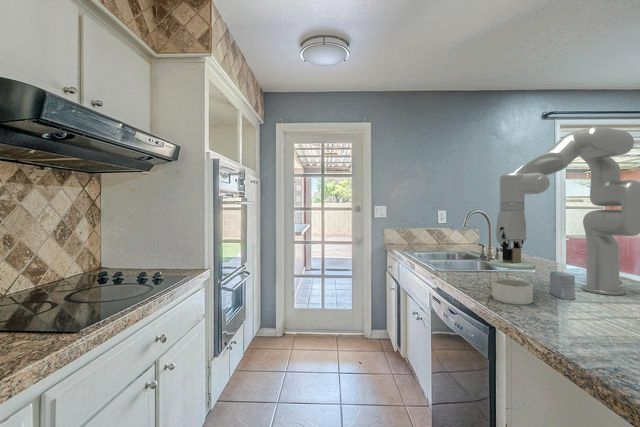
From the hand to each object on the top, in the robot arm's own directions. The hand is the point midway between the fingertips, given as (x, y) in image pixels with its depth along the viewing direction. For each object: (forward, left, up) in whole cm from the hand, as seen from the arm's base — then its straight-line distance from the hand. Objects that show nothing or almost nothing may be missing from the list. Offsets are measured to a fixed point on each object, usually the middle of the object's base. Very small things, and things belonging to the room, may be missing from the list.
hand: (511, 259), depth 112 cm
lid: (0, 0, -2) cm, 2 cm away
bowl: (0, 0, -14) cm, 14 cm away
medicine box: (-20, +5, -15) cm, 26 cm away
